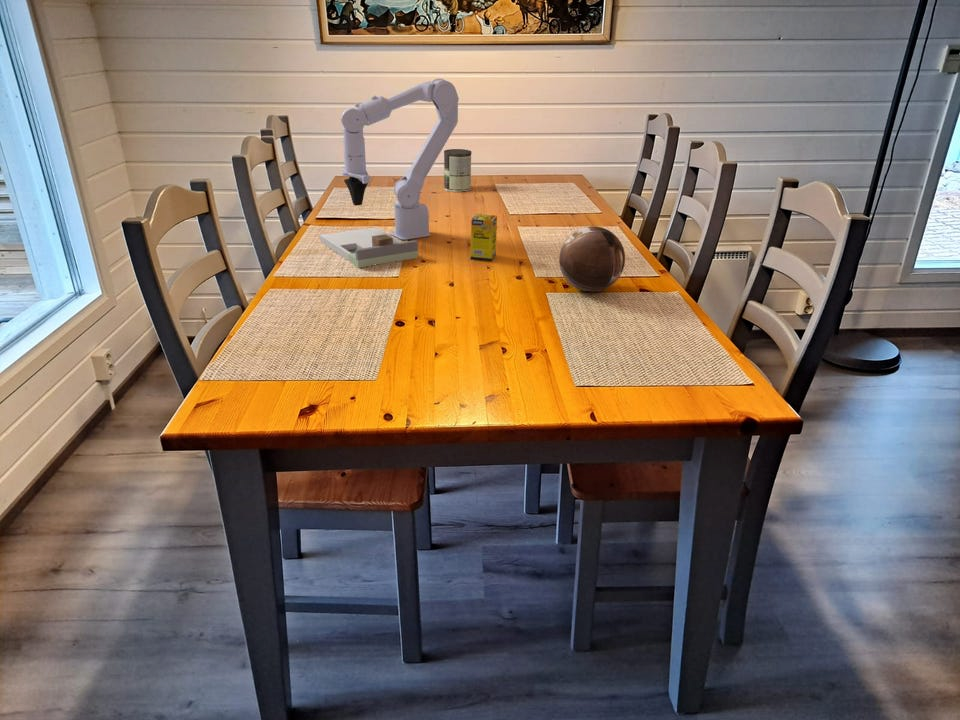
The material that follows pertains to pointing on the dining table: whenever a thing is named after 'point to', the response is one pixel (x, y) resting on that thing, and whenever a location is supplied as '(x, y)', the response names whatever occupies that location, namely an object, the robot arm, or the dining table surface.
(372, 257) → the board
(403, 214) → the robot arm
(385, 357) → the dining table surface
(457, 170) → the coffee can
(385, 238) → the walnut block
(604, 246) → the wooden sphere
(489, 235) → the supplement box
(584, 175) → the dining table surface
